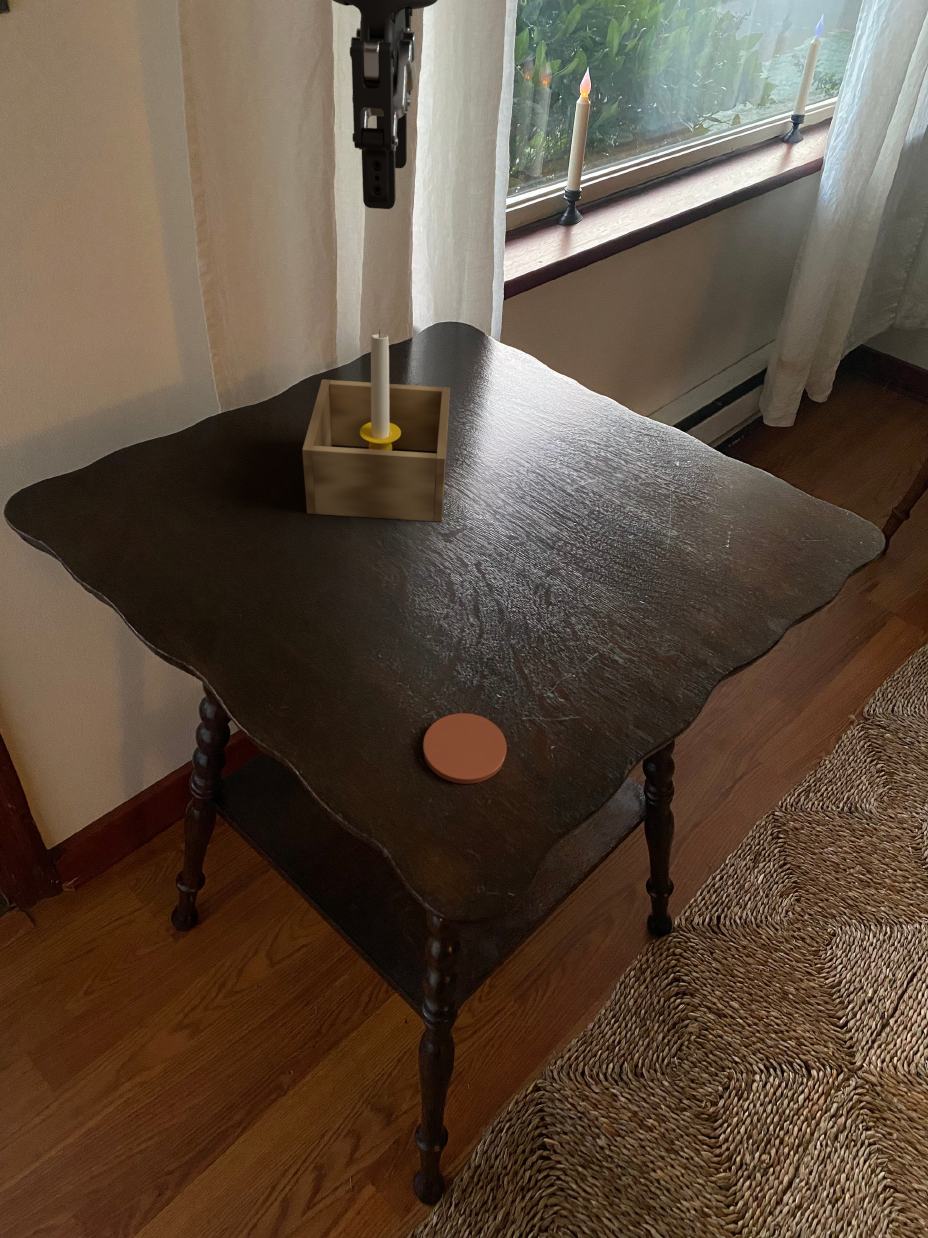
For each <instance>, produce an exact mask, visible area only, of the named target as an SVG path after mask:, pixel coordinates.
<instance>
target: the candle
mask: <svg viewBox="0 0 928 1238" xmlns="http://www.w3.org/2000/svg"><path fill="white" fill-rule="evenodd" d="M389 343H390V342H389V335H388V334H384V333H381V329H378V333H376V334H375V333H374V334H371V339H370V383H371V422H370V423H367V424H365V425H364V426H363V427H361V429H360V435H361V437H362V438H363V439H364V440H366V441H368V442H370V443H369V447H368V449H373V450H389V451H393V449H392V444H391V442H394V441H396V440H397V439H398V438H399V437H400V435H401V430H400V428H399V427H398V426H396V425H395V424H393V423H390V422H389V384H390V348H389V347H390V344H389Z"/></svg>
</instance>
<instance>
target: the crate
mask: <svg viewBox="0 0 928 1238" xmlns="http://www.w3.org/2000/svg"><path fill="white" fill-rule="evenodd" d="M450 397H451V387H445V386H444V387H442V386H429V385H428V386H427V385H413V384H397V383H389V422H390V423H393V424H395V425H396V426H398V427H399V428H400V430H401V435H400V437H399V438H398V439H397V440H396V441H394V442H391V444H392V451H389V450H373V449H369V443H370V442H368V441H366V440H364V439H363V438H362V437H361V435H360V429H361V427H363V426H364V425H365V424H367V423H370V422H371V382H367V381H366V382H365V381H355V380H354V381H351V380H338V379H337V380H336V379H321V381H320V386H319V388H318V391H317V395H316V399H315V403H314V406H313V411H312V413H311V416H310V421H309V425H308V428H307V432H306V435H305V438H304V442H303V446H302V449H301V451H302V452H301V453H302V463H303V465H302V466H303V477H304V479H303V480H304V493H305V504H306V514H308V515H323V516H324V515H325V516H339V517H340V516H341V517H357V518H371V519H372V518H373V519H388V520H389V519H391V520H405V521H420V522H421V521H423V522H437V523H442V522H443V511H444V499H445V498H444V497H445V496H444V495H445V482H446V467H447V454H448V453H447V452H448V451H447V450H448V435H449V434H448V433H449V416H450V415H449V414H450ZM339 446H340V447H339ZM342 446H343V447H342ZM344 446H345V447H344ZM355 447H357V448H355ZM402 450H403V451H402ZM405 450H406V451H405ZM418 451H420V452H418ZM421 451H422V452H421ZM433 452H434V453H433Z"/></svg>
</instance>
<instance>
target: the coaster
mask: <svg viewBox="0 0 928 1238" xmlns="http://www.w3.org/2000/svg"><path fill="white" fill-rule="evenodd" d="M507 745H508V744H507V741H506V738H505V735H504V733H503V732H502V730H501V729H500V728H499V727H498V726H497V725H496V724H495V723H494V722H492V721H491V720H489V719H487V718H485V717H483V716H481V715H478V714H473V713H467V712H466V713H465V712H463V713H462V712H461V713H453V714H448V715H446V716H443V717H440V718H439V719H438V720H436V721H434V722H433V723H432V724H431V725H430V726H429V727H428V729H427V730H426V732H425V734H424V737H423V741H422V755H423V757H424V761H425V763H426V765H427V767H429V769H430V770H431V771H432V772H433V773H434V774H435V775H436V776H438V777H439V778H442V779H443V780H445V781H448V782H450V783H455V784H459V785H461V784H462V785H472V784H473V785H474V784H478V783H482V782H484V781H486V780H489V779H491V778H492V777H493V776H495V775H496V774H497V773H498V772H499V771H500V770H501V769H502V767H503V766H504V764H505V762H506V761H505V760H506V757H507V751H508V750H507V749H508V747H507Z"/></svg>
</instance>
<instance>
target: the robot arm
mask: <svg viewBox="0 0 928 1238" xmlns="http://www.w3.org/2000/svg"><path fill="white" fill-rule="evenodd" d="M332 1H333V2H335V3H337V4H340V5H343V6H347V7H348V6H354V7H355V8H357V10H358V11H359V14H360V21H359V23H360V24H359V28H358V27H357V28H356V31H355V32H356V33H355V36H351V39H350V47H349V57H350V59H351V83H352V84H351V85H352V86H351V87H352V88H351V89H352V97H351V100H352V115H353V116H352V118H353V120H352V121H353V133H352V138H351V139H352V142H353V145H354V148H355V149H358V150H359V151H361V174H362V177H361V178H362V179H361V180H362V202H363V204H364V206H365V207H366V208H369V209H378V210H391V209H392V208H393V207H394V206H395V203H396V198H397V197H396V194H397V193H396V169H403V168H404V167H406V164H407V161H408V113H407V112H409V109H410V107H411V104H412V103H411V102H412V101H411V98H410V96H411V93H412V91H413V90H414V79H415V66H414V61H415V57H416V43H417V41H416V40H417V39H416V31H412V17H413V12H414V10H419V9H425V8H428V7H431V6H433V5H434V4H436V3H437V2H438V1H439V0H332ZM372 116H373V117H376V127H369V119H370V118H371V117H372Z"/></svg>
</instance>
